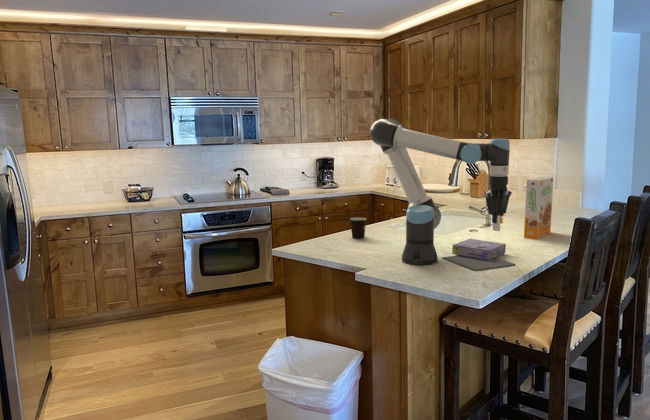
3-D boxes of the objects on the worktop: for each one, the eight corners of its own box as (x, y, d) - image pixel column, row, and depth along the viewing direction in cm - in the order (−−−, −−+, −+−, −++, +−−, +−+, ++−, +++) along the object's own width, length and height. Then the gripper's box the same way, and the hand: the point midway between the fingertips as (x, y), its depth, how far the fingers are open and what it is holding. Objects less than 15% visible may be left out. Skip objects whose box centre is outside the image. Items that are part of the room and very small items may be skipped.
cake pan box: (506, 253, 227) (469, 247, 238) (507, 242, 226) (469, 236, 237) (490, 261, 212) (451, 254, 223) (490, 250, 211) (451, 243, 222)
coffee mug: (358, 240, 259) (358, 221, 257) (346, 237, 265) (346, 218, 264) (373, 236, 266) (373, 218, 265) (362, 234, 273) (362, 216, 271)
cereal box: (536, 239, 254) (539, 180, 249) (523, 237, 258) (526, 179, 253) (550, 232, 271) (553, 176, 266) (538, 230, 275) (541, 176, 270)
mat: (475, 271, 199) (475, 269, 199) (442, 258, 219) (442, 257, 219) (515, 265, 207) (515, 263, 207) (479, 253, 227) (479, 252, 227)
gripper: (492, 176, 205) (490, 233, 209) (517, 175, 210) (514, 230, 214) (480, 175, 212) (478, 230, 216) (504, 174, 217) (502, 227, 220)
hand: (496, 230), depth 215 cm, fingers closed
